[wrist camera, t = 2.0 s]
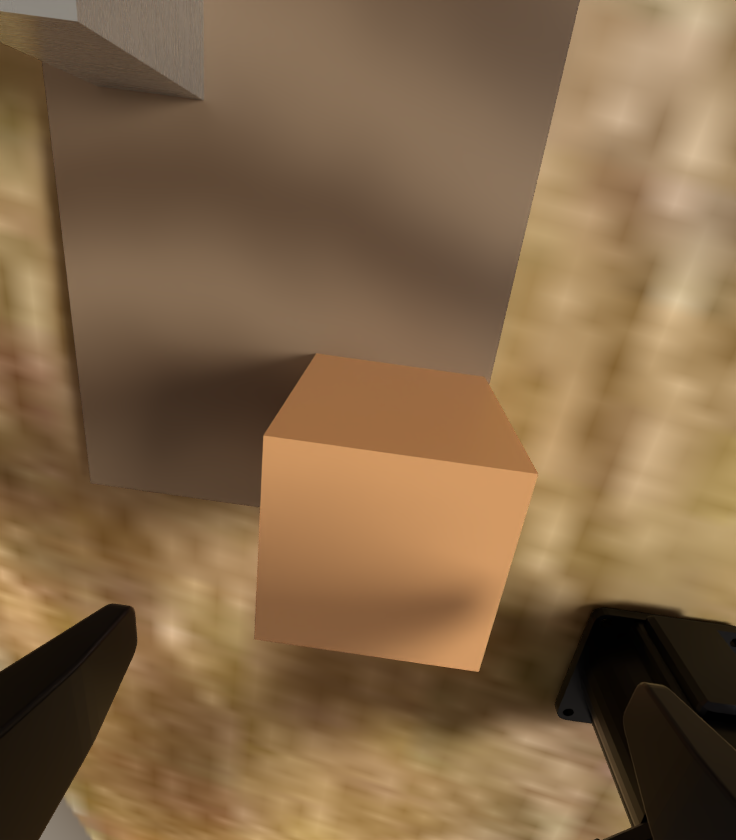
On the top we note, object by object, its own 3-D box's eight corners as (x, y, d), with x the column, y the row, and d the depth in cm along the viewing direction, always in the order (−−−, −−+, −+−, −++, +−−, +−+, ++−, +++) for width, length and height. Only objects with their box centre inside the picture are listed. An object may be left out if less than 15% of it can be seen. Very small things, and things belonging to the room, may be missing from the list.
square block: (452, 518, 18) (478, 671, 12) (304, 497, 18) (254, 639, 12) (484, 376, 16) (538, 474, 10) (316, 353, 16) (263, 435, 10)
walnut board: (450, 516, 19) (453, 534, 18) (108, 468, 19) (90, 483, 18) (609, -176, 12) (631, -218, 10) (38, -249, 12) (0, -298, 11)
